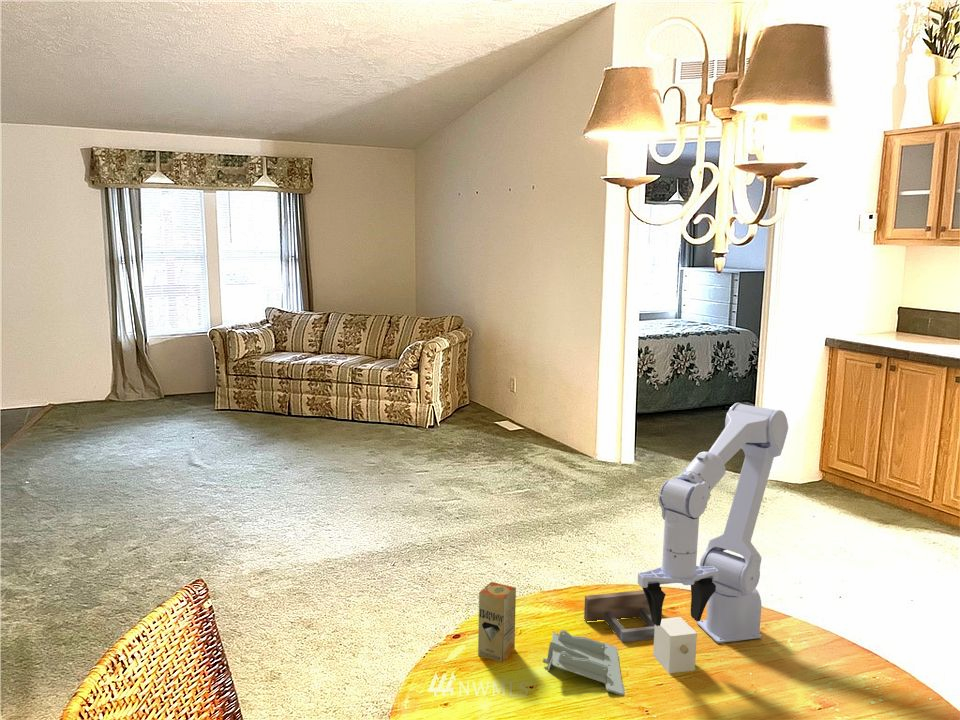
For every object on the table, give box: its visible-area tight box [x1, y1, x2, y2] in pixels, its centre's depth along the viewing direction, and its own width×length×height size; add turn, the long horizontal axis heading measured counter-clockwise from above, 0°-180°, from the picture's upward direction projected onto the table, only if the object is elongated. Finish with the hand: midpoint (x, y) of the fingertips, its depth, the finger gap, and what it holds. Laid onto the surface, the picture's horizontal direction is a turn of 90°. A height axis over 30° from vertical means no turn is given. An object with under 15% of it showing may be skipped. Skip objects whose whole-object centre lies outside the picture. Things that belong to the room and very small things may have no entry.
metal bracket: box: [542, 629, 626, 697], centre depth 135 cm, size 14×6×15 cm
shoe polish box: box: [477, 581, 517, 663], centre depth 139 cm, size 5×5×12 cm
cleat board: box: [583, 589, 655, 643], centre depth 149 cm, size 16×10×5 cm, turn 103°
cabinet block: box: [652, 616, 698, 674], centre depth 136 cm, size 5×7×7 cm
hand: (675, 620), depth 136 cm, fingers open, 7 cm apart
